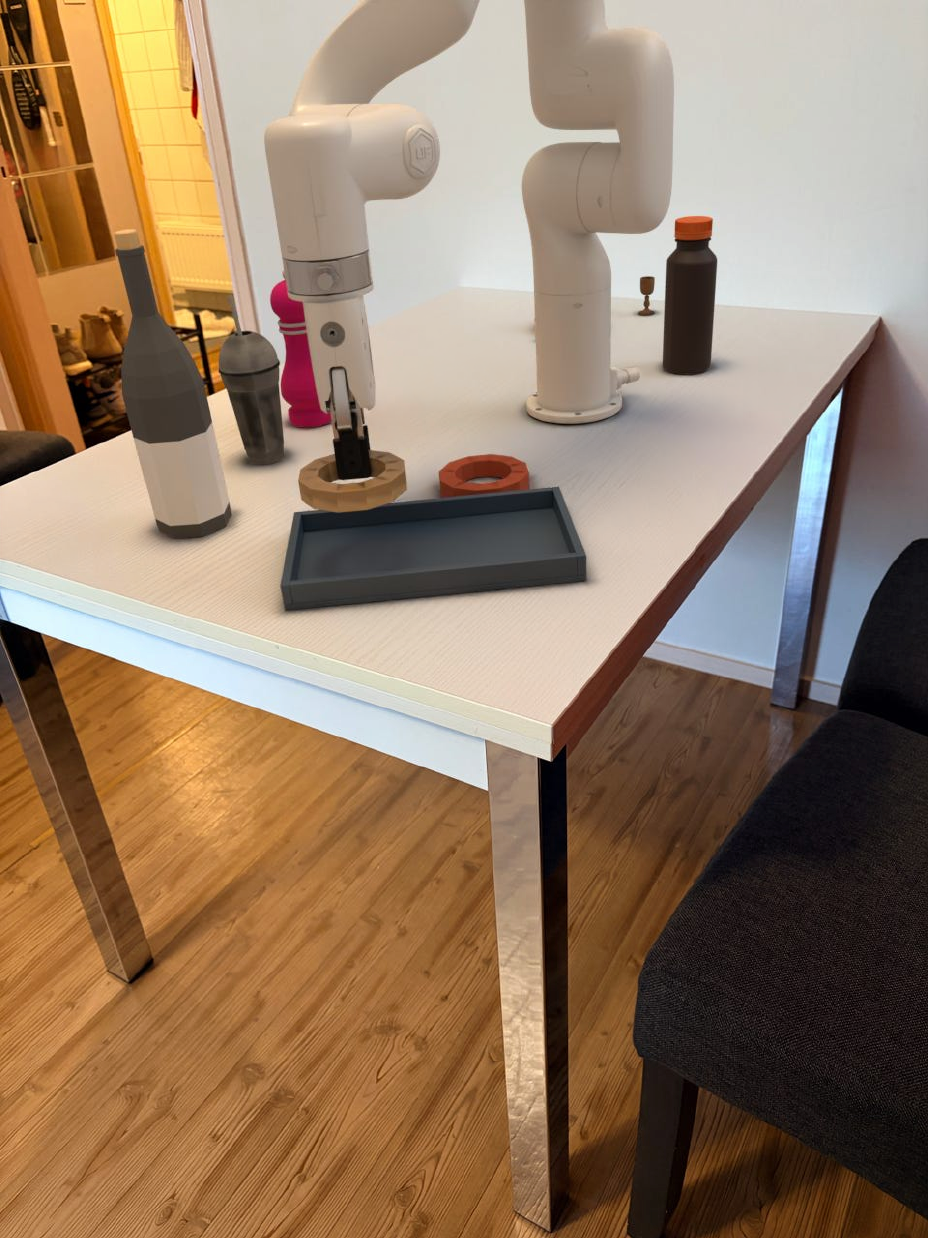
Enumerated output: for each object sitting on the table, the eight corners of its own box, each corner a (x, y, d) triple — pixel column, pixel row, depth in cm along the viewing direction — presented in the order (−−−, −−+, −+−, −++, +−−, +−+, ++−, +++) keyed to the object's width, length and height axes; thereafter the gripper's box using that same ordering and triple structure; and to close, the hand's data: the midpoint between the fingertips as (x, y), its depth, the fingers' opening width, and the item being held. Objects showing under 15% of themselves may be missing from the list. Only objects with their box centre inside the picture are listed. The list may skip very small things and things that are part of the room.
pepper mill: (330, 429, 126) (306, 272, 116) (278, 429, 128) (250, 273, 117) (346, 410, 132) (325, 259, 122) (297, 410, 134) (272, 260, 123)
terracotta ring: (522, 466, 111) (521, 450, 110) (533, 501, 103) (533, 484, 102) (438, 475, 111) (436, 458, 110) (443, 510, 103) (441, 493, 101)
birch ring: (405, 465, 94) (403, 445, 93) (408, 506, 86) (405, 485, 85) (305, 474, 94) (302, 455, 93) (298, 516, 85) (294, 496, 84)
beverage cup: (306, 448, 121) (278, 285, 111) (278, 470, 115) (246, 301, 105) (255, 445, 123) (224, 285, 113) (226, 467, 118) (190, 300, 107)
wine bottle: (163, 546, 100) (83, 243, 84) (153, 517, 106) (76, 231, 91) (240, 528, 103) (175, 230, 87) (225, 500, 109) (162, 219, 93)
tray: (559, 508, 101) (559, 486, 100) (586, 580, 88) (586, 555, 86) (297, 534, 100) (293, 511, 99) (285, 610, 87) (280, 585, 86)
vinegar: (695, 357, 141) (703, 212, 131) (719, 370, 136) (730, 219, 125) (653, 365, 140) (658, 218, 129) (676, 378, 134) (683, 226, 123)
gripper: (370, 291, 77) (395, 502, 86) (372, 253, 90) (393, 439, 100) (277, 299, 76) (311, 510, 86) (293, 260, 90) (321, 446, 100)
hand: (355, 470), depth 93 cm, fingers closed on birch ring, 2 cm apart
